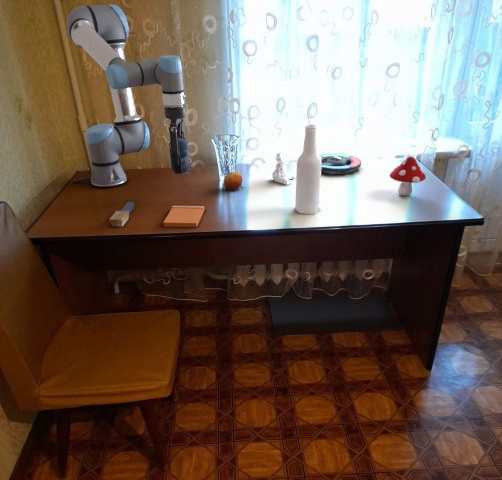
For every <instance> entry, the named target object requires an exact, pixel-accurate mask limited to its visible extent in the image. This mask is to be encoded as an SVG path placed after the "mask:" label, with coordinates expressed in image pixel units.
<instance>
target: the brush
mask: <svg viewBox="0 0 502 480" xmlns="http://www.w3.org/2000/svg"><path fill="white" fill-rule="evenodd" d="M134 207H135V202H134V201H127V203H126V204H124V206H123V207H122V208H121V210H116V211H115V212H114V213H113V214H112V216H110V218H109V224H110V225H111V227H124V225H125V224H126V223H127V222H128V220H129V217H130V213H131V211H132V210H133V208H134Z"/></svg>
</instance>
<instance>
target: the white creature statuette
mask: <svg viewBox="0 0 502 480" xmlns="http://www.w3.org/2000/svg"><path fill="white" fill-rule="evenodd" d="M274 157H275V161H276V162H277V164H276V165H275V169H274V171H273V172H272V175H271V176H272V177H271V178H272V179H273V180H274V182H276V183H280V184H283V185H289V184H290V181H291V180H294V174H293V173H291V172H288V171H287V166H286V162H287V159H286V156H285V154H284V152H283V151H280V152H278V153H277V154H276V155H275V156H274Z"/></svg>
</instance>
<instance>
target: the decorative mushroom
mask: <svg viewBox="0 0 502 480" xmlns="http://www.w3.org/2000/svg"><path fill="white" fill-rule="evenodd" d="M389 178H390V179H392V180H394V181H396V182H400V184H399V187H398V189H397V194H399V195H400V196H403V197H404V196H410V195H412V193H413V184H418V183H421V182H423V181H425V180H426V178H427V177H426V173H425V172H424V170H423V168H421V167H420V165H419V164H418V162H417V159H416V158H415V157H413V156H408V157H406V158H405V159H404V160H403V161H402V162H401V163H400V164H399V165H397V166H395V167H394V168H393V170H392V171H391V172H390V173H389Z"/></svg>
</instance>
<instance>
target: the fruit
mask: <svg viewBox="0 0 502 480" xmlns="http://www.w3.org/2000/svg"><path fill="white" fill-rule="evenodd" d="M242 185H243V176H242V175H241V174H240V173H239V172H238V171H232V172H230V173H228V174H226V175H225V176H224V178H223V186H224V188H225V189H226V190H227V191H231V192H234V191H240V188H243V187H242Z"/></svg>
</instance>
